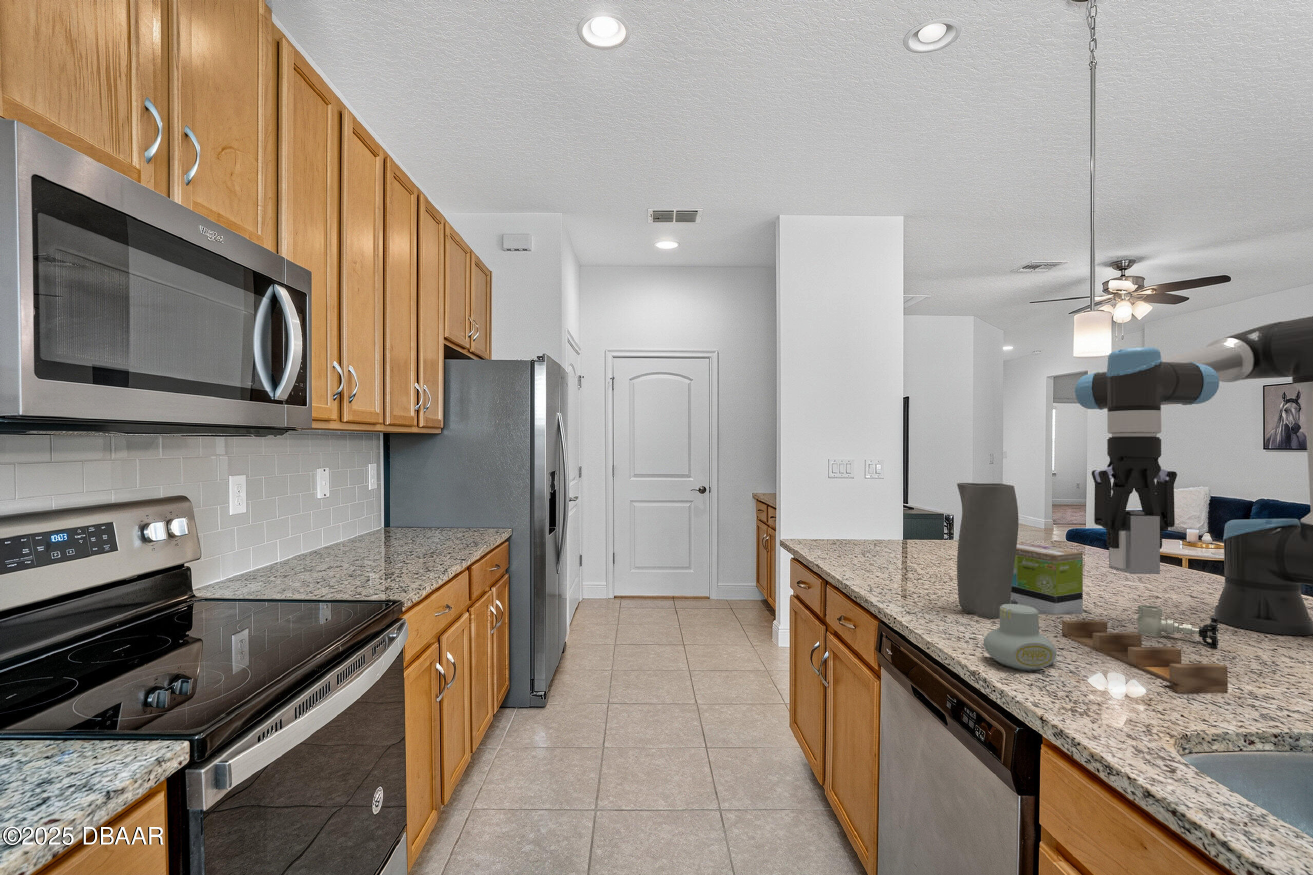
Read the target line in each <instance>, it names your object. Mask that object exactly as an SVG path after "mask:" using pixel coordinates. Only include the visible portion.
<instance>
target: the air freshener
mask: <svg viewBox="0 0 1313 875" xmlns="http://www.w3.org/2000/svg"><path fill="white" fill-rule="evenodd" d="M1039 619H1040V618H1039V614H1038V611H1037V610H1036V609H1035V608H1033V607H1029V606H1025V605H1018V604H1004V605H1001V606H1000V618H999V627H997V628H994V629H992V630H990V631H989V632H988V633H987V634H986V635H985V637H984V638H983V647H984V650H985V651H986V653H987V654H988V656H990V657H991V658H992V659H993V660H995V661H996V662H998V663H999V664H1001V665H1003V666H1006V667H1009V668H1012V669H1016V670H1019V671H1023V672H1024V671H1025V672H1034V671H1038V670H1041V669H1043V668H1046V667H1049V666H1051V665H1052V664H1053V663H1054V662H1055V660H1056V657H1057V650H1056V647H1055V645H1054V644H1053V642H1052V641H1051V640H1050V639H1049V638H1047V637H1046V636H1045V635H1043V634H1041V633H1040V629H1039V626H1040V625H1039Z"/></svg>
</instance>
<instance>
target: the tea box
mask: <svg viewBox="0 0 1313 875" xmlns="http://www.w3.org/2000/svg"><path fill="white" fill-rule="evenodd" d="M1083 559H1084V558H1083V552H1082V551H1078V550H1077V551H1076V550H1071V549H1065V548H1060V547H1054V546H1047V545H1041V544H1035V543H1029V542H1023V541H1022V542H1021V541H1020V542H1017V547H1016V555H1015V563H1014V571H1013V580H1012V590H1011V601H1010V604H1018V605H1025V606H1029V607H1033V608H1035V609H1036V610H1037V611H1038V615H1054V616H1059V615H1083V610H1084V609H1083V608H1084V607H1083V605H1084V604H1083V603H1084V600H1083V599H1084V594H1083V592H1084V591H1083V590H1084V588H1083V586H1084V585H1083V584H1084V582H1083V581H1084V580H1083V579H1084V577H1083V576H1084V575H1083V574H1084V572H1083V571H1084V568H1083V567H1084V566H1083V565H1084V564H1083V562H1084V560H1083Z"/></svg>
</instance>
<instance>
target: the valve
mask: <svg viewBox="0 0 1313 875" xmlns="http://www.w3.org/2000/svg"><path fill="white" fill-rule="evenodd" d="M1137 614H1138V616H1137V618H1136V626H1137V628H1138V629H1137V634H1140V635H1141V636H1145V637H1151V638H1162V637H1163V633H1166V634H1167V635H1170V636H1171V635H1172V636H1174V635H1175V633H1177V634H1178V633H1180V632H1181V633H1182V634H1183V635H1188V636H1192V635H1193V634H1195V635H1198V637H1199V638H1201V639H1202V642H1203V643H1204V644H1206V645H1208V646H1209V648H1210V649H1212V650H1213V649H1214V650H1218V648H1219V639H1218V637H1219V628H1218V626H1219V621H1218V617H1215V616H1214V615H1213V616H1212V615H1210V617H1209V620H1210V622H1209V624H1208V623H1207V624H1203V625H1202V626H1199V627H1198V628H1195V627H1193V625H1192V624H1185V623H1183V624H1182V625H1180V624H1179V623H1178V622H1175V619H1172V618H1167V619H1163V609H1162V608H1161V607H1159V606H1156V605H1150V604H1139V605H1137ZM1207 639H1209V640H1210V641H1208V640H1207Z"/></svg>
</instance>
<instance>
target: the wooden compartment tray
mask: <svg viewBox="0 0 1313 875" xmlns="http://www.w3.org/2000/svg"><path fill="white" fill-rule="evenodd" d="M1061 634H1062V635H1061V636H1062V637H1064V638H1066V639H1068V640H1071V641H1074V642H1075V643H1077V644H1079V645H1081V646H1083V647H1087V648H1088V649H1091V650H1094V651H1095V652H1098V653H1100V654H1103V655H1104V656H1107V657H1109V658H1112V659H1114V660H1117V661H1118V662H1120V663H1123V664H1125V665H1128V666H1130V667H1132V668H1134V669H1136V670H1139V671H1141V672H1143V673H1146V674H1148V675H1149V676H1153V677H1155V678H1156V679H1159V680H1161V681H1163V682H1166V683H1168V684H1162V685H1160V686H1162V687H1164V688H1166V689H1168V690H1171V691H1173V692H1175V693H1178V694H1207V693H1208V694H1212V693H1214V694H1215V693H1216V694H1219V693H1220V694H1223V693H1225V694H1226V693H1227V694H1228V693H1229V692H1228V691H1229V689H1228V688H1229V686H1228V681H1229V679H1228V674H1229V673H1228V666H1227V665H1223V664H1221V663H1216V662H1215V663H1211V662H1210V663H1209V662H1208V663H1207V662H1206V663H1182V649H1180V648H1178V647H1175V646H1143V645H1142V636H1143V635H1142V634H1140V633H1138V632H1108V622H1107V621H1104V620H1101V619H1097V620H1095V619H1091V620H1090V619H1089V620H1088V619H1085V620H1084V619H1083V620H1082V619H1081V620H1079V619H1078V620H1077V619H1074V620H1073V619H1070V620H1064V619H1063V620H1061Z"/></svg>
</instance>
